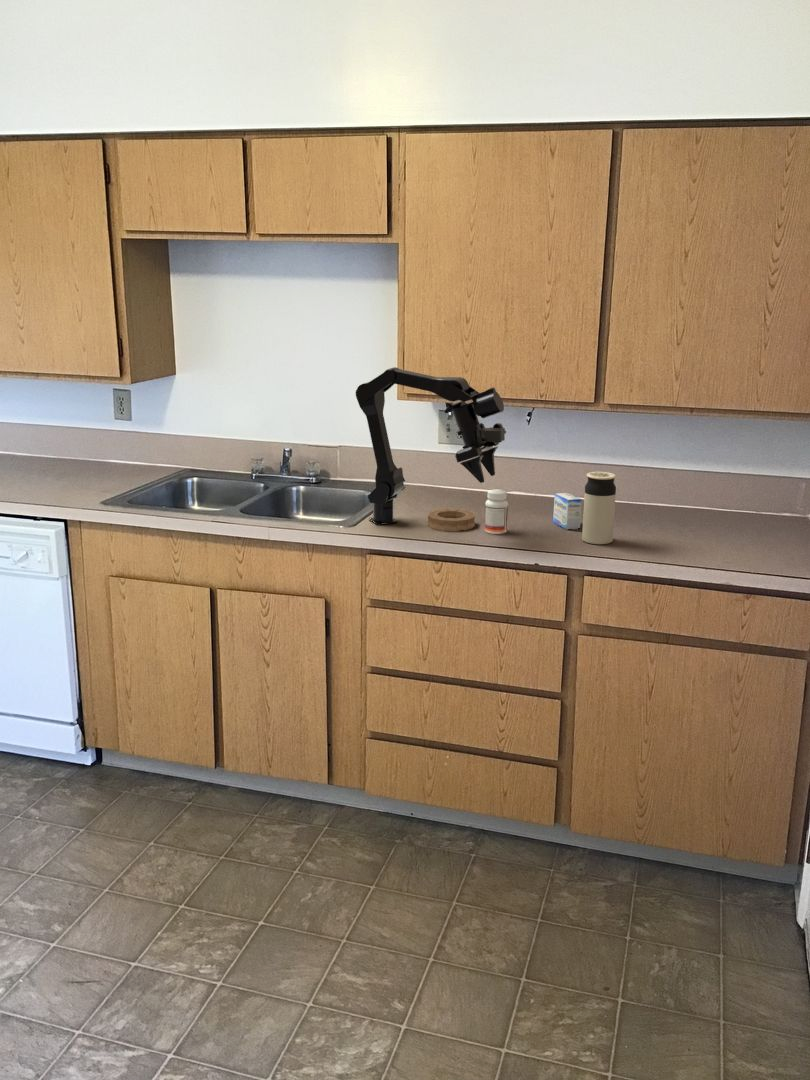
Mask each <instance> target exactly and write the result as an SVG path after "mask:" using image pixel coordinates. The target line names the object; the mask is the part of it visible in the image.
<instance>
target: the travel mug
mask: <svg viewBox="0 0 810 1080" xmlns="http://www.w3.org/2000/svg"><path fill="white" fill-rule="evenodd" d="M586 477H587V482H586V483H585V485H584V499H583V500H584V501H583V516H582V533H581V534H582V535H581V536H582V537H581V540H582V541H584V542H585V543H587V544H590V545H608V544H610V543H613V540H614V538H613V537H614V526H615V524H614V523H615V506H616V496H617V495H616V494H617V493H616V492H617V487H616V485H615V478H616V477H617V476H616V474H614V473H613V472H608V471H592V472H591V471H590V472H587V473H586Z"/></svg>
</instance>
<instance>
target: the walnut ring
mask: <svg viewBox="0 0 810 1080" xmlns="http://www.w3.org/2000/svg"><path fill="white" fill-rule="evenodd" d="M475 523H476V513H474V512H472V511H471V510H467V509H460V508H441V509H434V510H432V511H429V512H428V514H427V526H428V527H429V528H431V529H432V528H433V529H432V530H438V531H442V532H460V530H464V531H469V530H471V529H473V527H474V528H475V527H476V526H475V525H476V524H475ZM470 528H471V529H470ZM468 529H469V530H468Z"/></svg>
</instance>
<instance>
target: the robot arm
mask: <svg viewBox="0 0 810 1080" xmlns="http://www.w3.org/2000/svg"><path fill="white" fill-rule="evenodd" d="M394 385H399V386H404V387H407V388H408V387H409V388H413V389H416V390H421V391H425V392H426V391H427V392H430V393H433V394H434V395H436V396H438V397H439V398H442V399H444V400H446V401H449V402H448V403H447V405H446V408H445V410H444V413H445V414H449V413H452V414H453V417H454V420H455V423H456V426H457V428H458V430H459V431H457V432H456V433H457V436H461V439H462V442H463V445H462V449H459V450H458V451H457V452H456V453H455V455H454V457H455V459H456V462H457V463H459V464H460V465H462V466H463V467H464V468H465V469H466V470H467V471H468V472H469V473H470V474H471V475H472V476H473V477H474V478H475V479H476V480H477V481H478V482H479V483H480V484H483V483H484V482H485V477H484V472H483V468H482V465H483V467H484V468H485V470H486V471H487V473H488V474H489V475H490V476H491V477H493V476H495V475H496V470H495V469H496V468H495V452H496V451H497V449H498V448H499V444H500V443H502V442H504V441H505V434H506V433H507V431H506V429H505V427H503V424H502V423H494V424H493V426H492V427H491V426H490V427H485V424H484V423H483V422H480V421H479V417H480V418H482V419H486V418H489V417H491V416H494V415H497V414H500V413H503V412H504V410H505V405H504V401H503V398H502V397H501V395H500V394H499V393H498V392H497V390H496V388H495V386H494V387H491V388H488V389H486V390H485V391H481V392H478V391H477V390H476V389H475V388H474V387H472V386H470V384H469V381H467V379H466V378H464V377H459V376H455V377H454V376H439V377H438V376H435V375H434V376H432V375H429V374H424V373H419V372H415V371H410V370H406V369H401V368H400V367H399V368H398V367H390V368H387V369H386V370H385V371H384V372H383V373H381V374H379V375H378V376H376V377H374V378H373V379H372V380H370V381H368V382H364V383H361V384H359V385H358V386H357V388H356V390H355V397H356V401H357V403H358V406H359V408H360V409H361V411H362V413H363V415H365V417H366V420H367V426H368V430H369V436H370V440H371V444H372V450H373V454H374V459H375V463H376V464H375V465H376V470H375V477H374V481H375V483H374V484H375V488H374V489H373V490H372V491H371V492H370V493H368V495H367V498H368V502H369V503H370V504H372V515H373V516H372V517H368V520H369V519H370V518H371V519H370V520H372V521H374V522H375V523H377V524H381V525H383V524H382V523H390V524H394V523H393V522H399V520H397V519H396V518H395V517H394V499H396V498H397V497H398V495H399V493H400V492H402V490H403V489H404V482H406V479H405V478H404V473H403V467H399V468H398V467H397V466H396V464H395V463H394V462H395V461H394V460H393V455H392V451H391V445H390V442H389V441H390V440H389V436H388V430H387V426H386V425H387V424H386V422H385V416H384V407H385V402H386V400H385V393H386V392H387V391H388V390H390V389H391V388H392V387H393V386H394ZM471 400H472V401H471ZM467 401H470V402H468V403H467ZM454 402H456V403H454ZM370 520H369V521H370ZM372 521H371V522H372ZM375 523H374V524H375ZM377 524H376V525H377Z"/></svg>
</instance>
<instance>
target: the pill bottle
mask: <svg viewBox="0 0 810 1080" xmlns="http://www.w3.org/2000/svg"><path fill="white" fill-rule="evenodd" d="M486 496H487V499H486V501H485V504H484V505H485V506H484V531H485V532H486V533H488V534H491V535H503V534H506V533H507V532H508V519H509V517H508V516H509V503H508V500H506V499H507V491H506V490H504V489H489V490H487V495H486Z"/></svg>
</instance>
